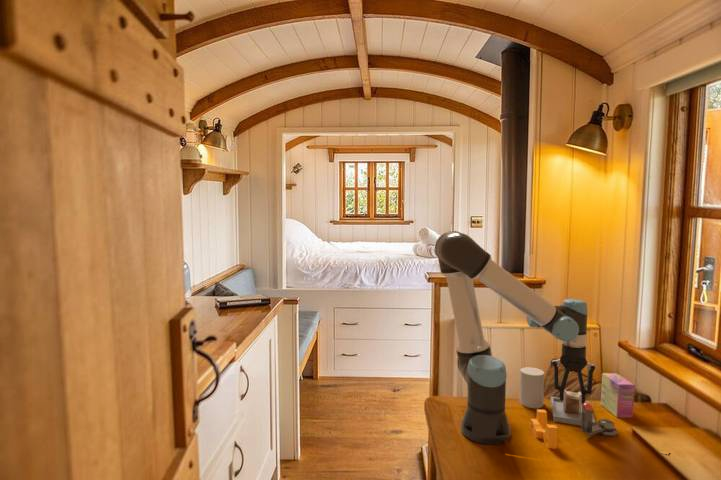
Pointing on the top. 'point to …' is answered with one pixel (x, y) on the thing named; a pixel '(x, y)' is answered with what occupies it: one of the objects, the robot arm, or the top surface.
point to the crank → (587, 422)
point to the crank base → (609, 433)
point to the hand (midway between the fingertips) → (571, 410)
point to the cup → (531, 387)
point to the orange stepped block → (544, 429)
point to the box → (617, 395)
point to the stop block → (572, 402)
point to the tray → (562, 415)
